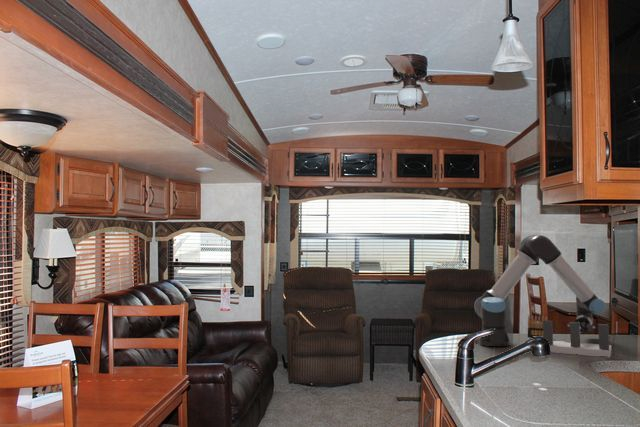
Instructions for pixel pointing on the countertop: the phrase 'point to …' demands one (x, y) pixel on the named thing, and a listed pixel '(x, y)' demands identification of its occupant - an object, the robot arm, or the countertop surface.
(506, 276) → the robot arm
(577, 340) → the dark grey upright block
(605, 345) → the three peg stand
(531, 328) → the ammunition clip
